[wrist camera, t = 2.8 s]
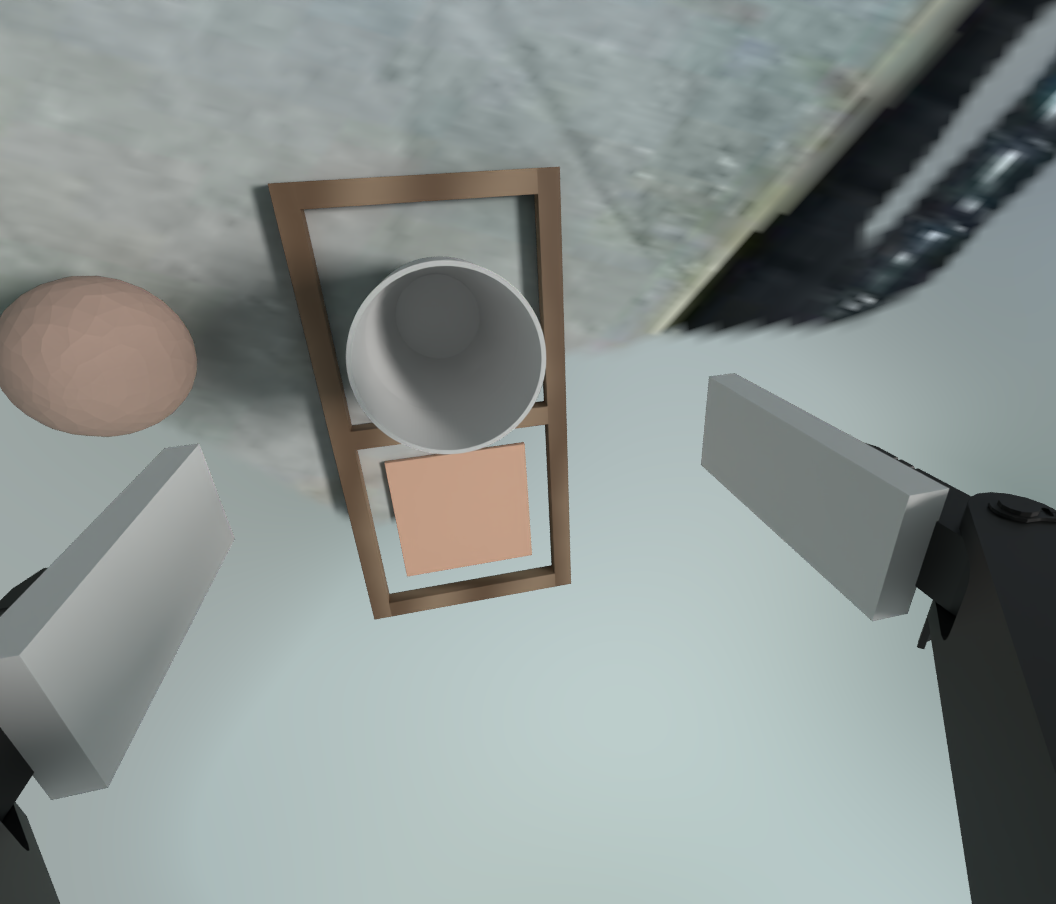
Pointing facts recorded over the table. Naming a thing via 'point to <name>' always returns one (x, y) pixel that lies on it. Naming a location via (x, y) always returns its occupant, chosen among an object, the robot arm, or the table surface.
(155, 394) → the egg
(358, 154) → the table surface
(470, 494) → the pad
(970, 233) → the table surface
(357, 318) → the cup
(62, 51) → the table surface
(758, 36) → the table surface
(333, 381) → the brown wooden divided frame
